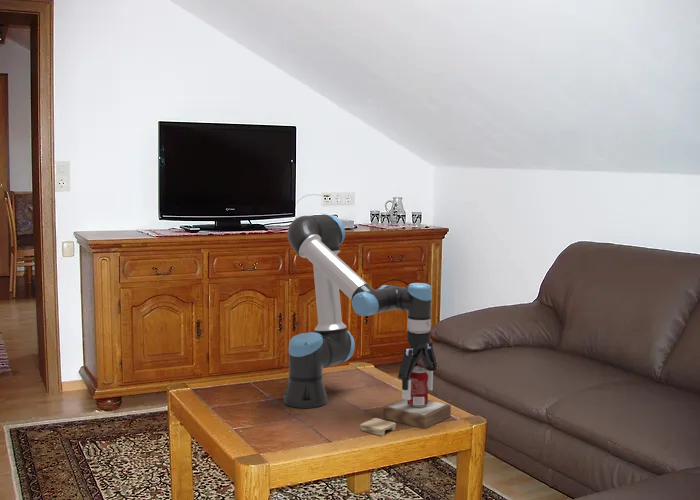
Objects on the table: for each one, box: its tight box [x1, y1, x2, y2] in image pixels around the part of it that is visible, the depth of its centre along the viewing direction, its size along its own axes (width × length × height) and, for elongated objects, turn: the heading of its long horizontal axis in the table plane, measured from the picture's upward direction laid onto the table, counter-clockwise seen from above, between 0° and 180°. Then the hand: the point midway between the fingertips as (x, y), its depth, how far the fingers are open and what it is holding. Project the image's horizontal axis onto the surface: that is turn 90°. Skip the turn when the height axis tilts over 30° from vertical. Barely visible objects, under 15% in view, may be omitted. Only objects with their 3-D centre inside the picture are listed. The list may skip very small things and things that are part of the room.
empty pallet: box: [359, 417, 397, 437], centre depth 241 cm, size 8×8×2 cm
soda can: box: [407, 367, 429, 408], centre depth 252 cm, size 7×7×12 cm
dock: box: [382, 398, 452, 430], centre depth 253 cm, size 16×16×4 cm
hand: (417, 394), depth 252 cm, fingers open, 13 cm apart
